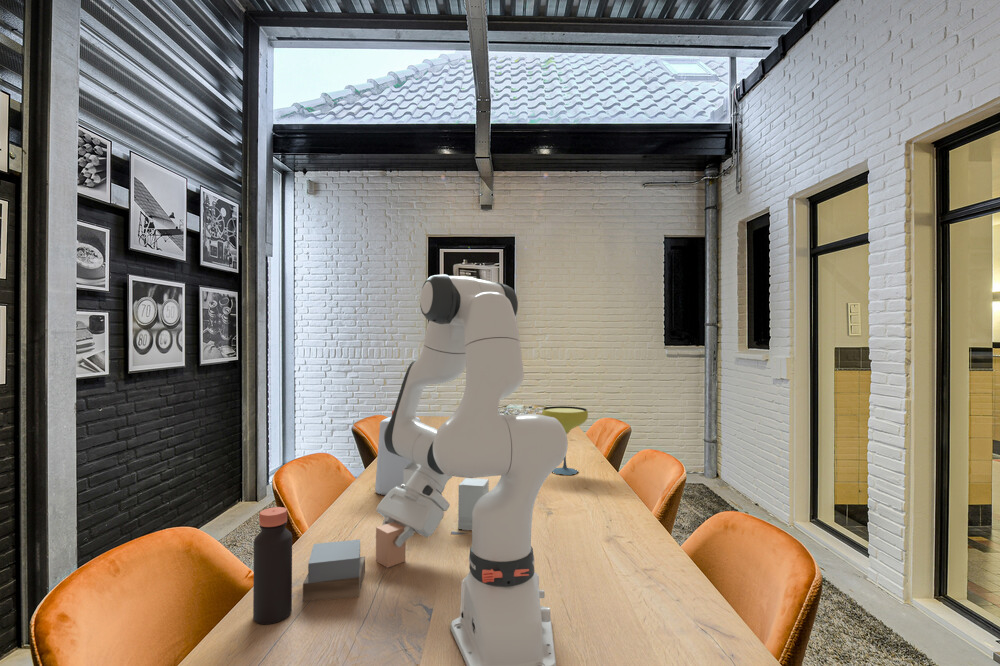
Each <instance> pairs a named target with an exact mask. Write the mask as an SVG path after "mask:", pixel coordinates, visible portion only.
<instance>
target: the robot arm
mask: <svg viewBox="0 0 1000 666" xmlns="http://www.w3.org/2000/svg"><path fill="white" fill-rule="evenodd" d="M421 287H422V288H421V291H420V295H419V302H420V303H419V306H420V307H419V308H420V310H421V314H422V315H423V316H424V318H425V319H426V320H428V322H427V323H428V324H427V327H426V330H425V335H424V339H423V345H422V349H421V352H420V354H419V356H418V358H416V359H414V360H412V361H411V362H410V363H409V365H408V367H407V369H406V372H405V375H404V377H403V380H402V383H401V387H400V389H399V393H398V395H397V400H396V402H395V406H394V407H393V408H394V409H393V410H394V412H393V415H392V414H391V416H390V417H391V419H390V421H389V423H388V425H387V427H386V430H385V433H384V442H385V446H386V448H387V450H388V451H389V452H390V453H393V454H395V455H398V456H401V457H404V458H406V459H408V460H410V461H412V462H414V463H416V464H419V465H420V467H419V468H417V469H416V470H415V472H414V473H413V475H412V476H411V477H410V479H409V480H408V482H407V483H406V485H404V484H400V485H398V486H396V487H395V488H393V489H391V490H390V491H389V492H388V493H387V495H384V497H382V499H381V501H380V502H379V503H378V504H377V507H376V512H377V513H378V514H380V516H382V517H383V518H384V519H383V522H382V525H385V524H389V523H392V522H395V523H397V524H399V525H402V526H404V527H405V528H404V532H403V533H402V534H401V535H399V536H396V537H395V539H394V540H393V543H394V544H395V545H396V546H398V547H401V546H402V544H403V543H404V541H407V540H408V539H410V538H411V537H412V536H413V535H414V533H417V534H418V535H420V536H422V537H425V538H428V537H430V536H432V535H433V534H434V533H435V531H436V529H437V528H438V526H439V525H440V522H441V521H442V520H443V518H444V514H445V513H444V512H447V511H448V509H449V508H450V507H451V504H450V502H448V500H447V499H446V497H444V496H443V494H442V493H443V492H444V490H445V488H446V485H447V483H448V481H449V480H450V479H451V478H453V477H457V478H464V479H465V478H473V479H479V478H485V477H486V478H488V477H497V476H499V477H500V478H499V479H498V482H497V484H496V485H495V486H494V487H493V488H492V489H491V490H490V491H489V492H488V493H486V494H485V495H483V496H482V497H481V498H480V499H479V500H478V501H477V503H476V504H475V506H474V509H473V512H472V531H471V540H472V541H471V546H470V548H469V555H468V563H469V565H468V566H469V572H468V574H467V575H466V576H465V577H464V578H463V579H462V580H461V588H460V610H459V611H460V613H459V614H460V615H459V617H456V618H454V619H453V620H452V621H451V623H450V631H451V633H452V636H453V638H454V640H455V643H456V645H457V647H458V648H459V651H460V653H461V656H462V658H463V660H464V663H465V665H466V666H557V661H556V659H557V658H556V652H555V651H556V650H555V642H554V636H553V627H552V626H553V625H552V619H551V608H550V607H549V606H543V605H541V599H545V595H546V594H545V590H544V589H540V575H539V574H538V573H537V572H535V554H534V548H533V546H532V527H533V515H534V514H533V513H534V507H535V503H536V499H537V497H538V494H539V493H540V490H541V488H542V487H543V485H544V483H545V481H546V480H547V478H548V477H549V476H550V474H552V471H553V470H554V469H555V468H559V467H560V465H562V463H563V462H564V458H565V456H566V457H567V452H568V448H569V447H568V446H569V445H568V443H569V442H568V434H567V435H566V432H565V430H564V428H563V426H562V424H561V423H560V422H559V421H558V420H557V419H556V418H554V417H549V416H544V415H542V414H537V413H536V414H535V413H525V414H523V413H522V414H521V413H520V414H507V415H506V414H505V415H502V414H499V406H500V402H501V400H503V399H506V398H508V397H509V396H510V395H512V394H513V393H516V391H518V389H520V388H521V386H522V383H523V382H524V376H525V375H524V365H523V364H524V363H523V358H522V356H523V355H522V348H521V339H520V332H519V328H518V327H519V326H518V322H517V318H516V317H517V313H518V310H519V309H518V308H519V301H518V297H517V294H516V292H515V290H514V289H513V287H510V286H509V285H507V284H505V283H501V282H493V281H489V280H487V279H486V280H485V279H480V278H475V277H473V276H465V275H464V276H462V275H448V274H445V273H444V274H434V275H430V276H429V277H428V278H427V279H426V280H425V281H424V282H423V284H422V286H421ZM464 372H465V387H464V392H463V394H462V395H463V396H462V399H461V401H460V402H459V404H458V406H457V408H456V409H455V411H454V412H453V414H451V416H450V417H449V418H448V419H447V420H445V421H444V422H443V423H442V424H441V425H440V426H439V427H438V428H436V427H433V426H431V425H429V424H426V423H423V422H422V421H421V422H419V421H418V420H417V418H416V417H417V416H416V412H417V409H418V406H419V403H420V399H421V397H422V394H423V392H424V389H425V388H426V387H427V386H429V385H439V384H440V385H441V384H447V383H449V382H452V381H455V380H457V379H458V378H460V376H461V375H462V374H463V373H464Z"/></svg>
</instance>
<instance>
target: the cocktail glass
mask: <svg viewBox="0 0 1000 666" xmlns="http://www.w3.org/2000/svg"><path fill="white" fill-rule="evenodd" d="M541 412H542V414H541V415H544V416H549V417H554V418H556V419H557V420H558V421H559V422H560V423H561V424H562V426H563V428H564V430H565V432H566V435H567V436H568V434H569V433H570V432H571V430H572V429H575V428H577V427H579V426H581V425H582V424H584V423H585V422H587V420H588V416H589V412H588V409H587V408H584V407H578V406H570V405H569V406H567V405H564V406H562V405H561V406H559V405H558V406H547V407H544V408H543V409H542V411H541ZM575 469H576V468H573V467H572V468H571V467H568V465H567V455H566V456H565V458H564V460H563V465H562V467H557V468H555V469H554V470H553V471H552V472H554V473H556V474H555V475H557V474H563V475H562V476H564V475H569V476H573V475H572V474H576V473H577V472H578V473H579V470H578V469H576V470H575ZM577 470H578V471H577ZM552 472H551V473H552ZM554 473H553V474H554ZM576 475H577V474H576Z"/></svg>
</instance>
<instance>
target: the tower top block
mask: <svg viewBox="0 0 1000 666" xmlns="http://www.w3.org/2000/svg"><path fill="white" fill-rule="evenodd" d="M360 557H361V539H351V540H341V541H340V540H339V541H329V542H319V543H313V545H312V548H311V553H310V556H309V560H308V564H307V565H308V566H307V570H308V572H307V575H308V583H315V582H324V581H332V580H340V579H349V578H357V577H359V573H360Z"/></svg>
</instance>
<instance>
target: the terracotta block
mask: <svg viewBox="0 0 1000 666" xmlns="http://www.w3.org/2000/svg"><path fill="white" fill-rule="evenodd" d="M404 528H405V527H404V526H402V525H399V524H397V523H395V522H392V523H389V524H385V525H383V524H382V525H379V526H377V527H375V562H377V563H378V564H380V565H382V566H383V567H385V568H387V569H388V568H391V567H394V566H396V565H399V564H401V563H403V562H406V549H407V548H406V541H407V540H406V541H404V543H403V544H402V546H401V547H398V546H396V545H395V544H394V543H393V540H394V539H395V537H396V536H399V535H401V534H402V533H403V532H404Z"/></svg>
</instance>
